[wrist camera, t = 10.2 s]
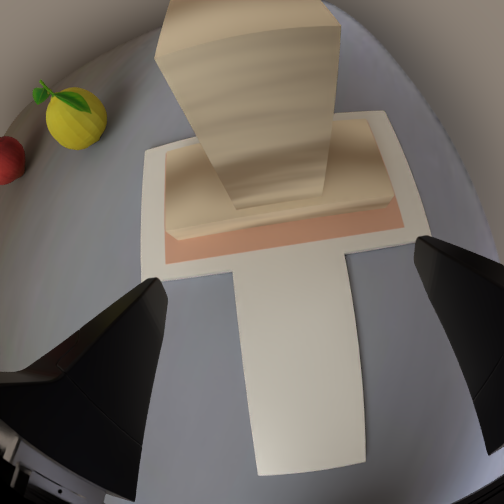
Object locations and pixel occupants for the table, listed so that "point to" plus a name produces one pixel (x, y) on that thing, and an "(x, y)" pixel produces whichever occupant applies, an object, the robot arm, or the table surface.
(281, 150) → the birch tee block
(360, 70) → the table surface
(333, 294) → the tee mat
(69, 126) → the lemon
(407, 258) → the table surface
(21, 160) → the onion
